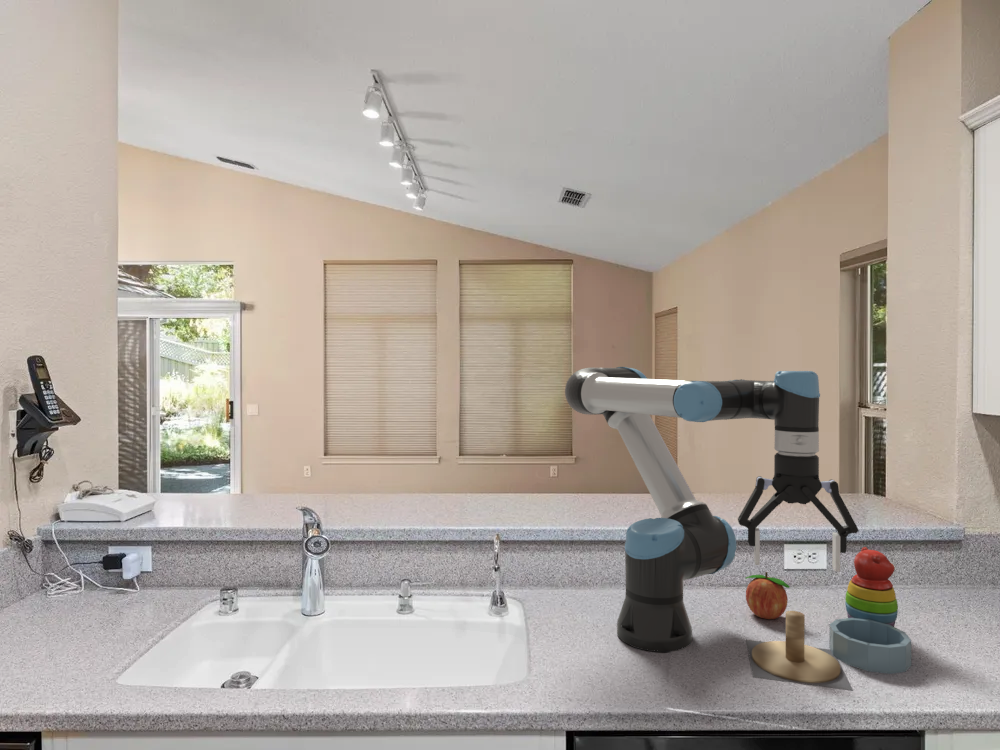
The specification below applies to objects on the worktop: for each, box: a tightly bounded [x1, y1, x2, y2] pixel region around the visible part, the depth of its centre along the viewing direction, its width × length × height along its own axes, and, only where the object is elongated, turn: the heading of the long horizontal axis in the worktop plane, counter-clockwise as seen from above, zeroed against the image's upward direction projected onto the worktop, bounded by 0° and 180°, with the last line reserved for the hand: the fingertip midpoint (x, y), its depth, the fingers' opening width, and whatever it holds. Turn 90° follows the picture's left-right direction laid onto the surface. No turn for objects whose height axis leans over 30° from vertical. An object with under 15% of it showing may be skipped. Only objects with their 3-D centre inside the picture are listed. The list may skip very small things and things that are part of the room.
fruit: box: [745, 571, 791, 620], centre depth 140 cm, size 9×10×10 cm
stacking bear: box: [845, 546, 899, 627], centre depth 130 cm, size 11×10×18 cm
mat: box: [745, 639, 854, 691], centre depth 117 cm, size 16×16×1 cm
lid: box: [752, 610, 841, 683], centre depth 117 cm, size 15×15×9 cm
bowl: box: [828, 617, 912, 675], centre depth 120 cm, size 13×13×5 cm
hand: (795, 566), depth 117 cm, fingers open, 13 cm apart
